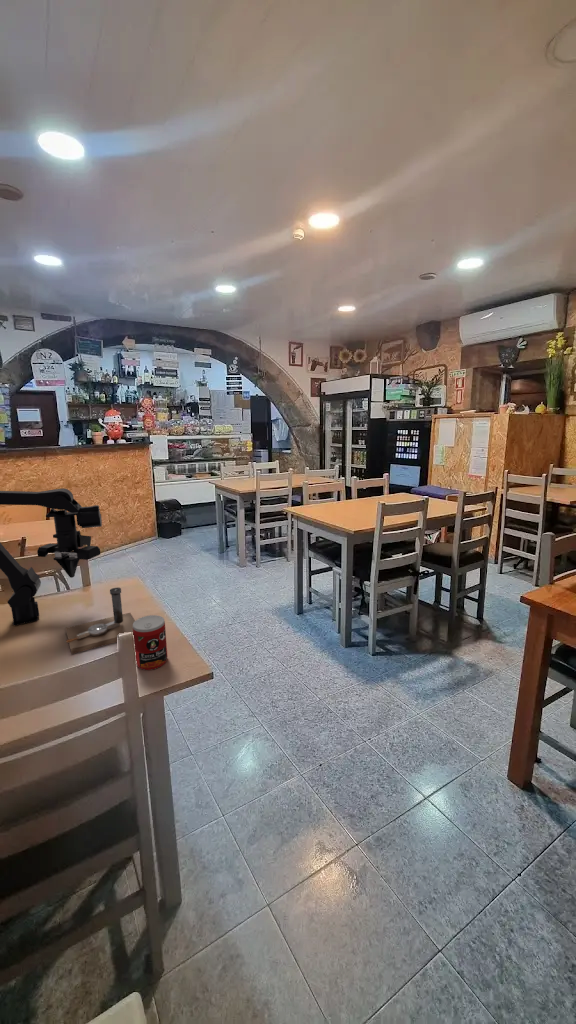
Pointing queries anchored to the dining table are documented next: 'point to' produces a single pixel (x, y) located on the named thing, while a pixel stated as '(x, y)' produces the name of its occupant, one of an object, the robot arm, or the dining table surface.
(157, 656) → the canned food
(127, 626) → the stand
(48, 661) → the dining table surface
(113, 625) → the crank handle
